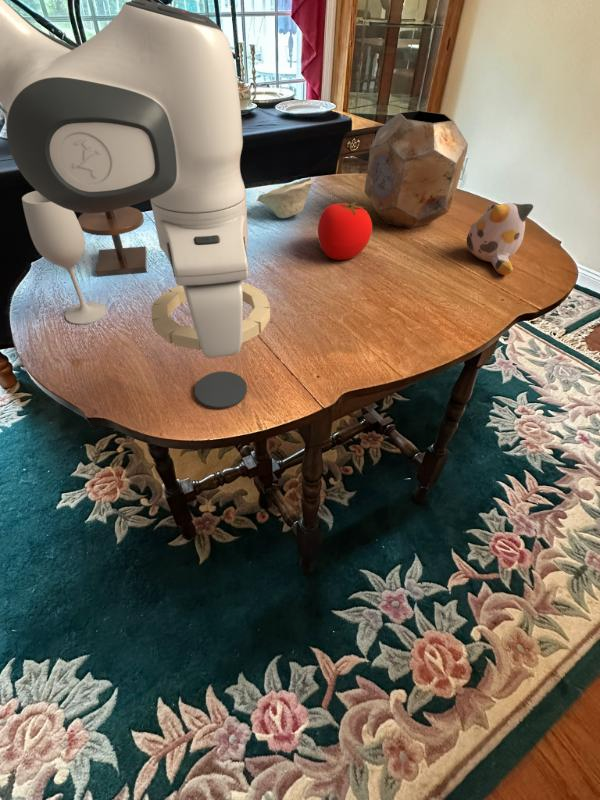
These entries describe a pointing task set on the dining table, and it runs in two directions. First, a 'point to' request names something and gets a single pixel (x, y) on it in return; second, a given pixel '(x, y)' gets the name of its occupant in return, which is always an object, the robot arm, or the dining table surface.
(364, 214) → the tomato
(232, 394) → the coaster
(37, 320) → the dining table surface
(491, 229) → the figurine
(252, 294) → the hoop
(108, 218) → the rack
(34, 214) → the wineglass
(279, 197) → the bowl
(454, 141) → the planter
